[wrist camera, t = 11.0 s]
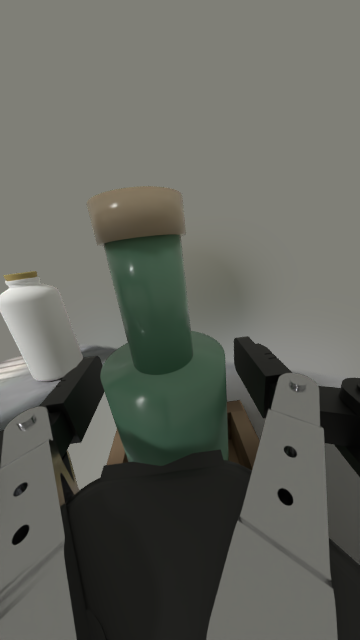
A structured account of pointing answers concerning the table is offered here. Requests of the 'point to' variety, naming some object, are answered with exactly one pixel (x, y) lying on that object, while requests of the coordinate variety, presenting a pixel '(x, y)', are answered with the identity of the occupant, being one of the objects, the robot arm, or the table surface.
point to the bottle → (157, 333)
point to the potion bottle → (40, 326)
